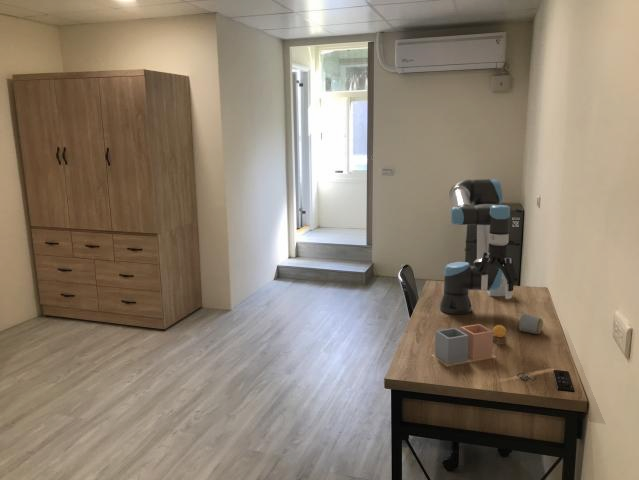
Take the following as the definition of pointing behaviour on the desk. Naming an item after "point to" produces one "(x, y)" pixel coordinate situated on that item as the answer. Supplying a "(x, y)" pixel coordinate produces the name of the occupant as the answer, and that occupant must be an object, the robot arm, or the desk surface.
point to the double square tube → (463, 345)
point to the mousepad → (526, 377)
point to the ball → (499, 331)
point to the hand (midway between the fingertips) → (495, 294)
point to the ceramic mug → (530, 324)
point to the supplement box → (501, 290)
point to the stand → (499, 340)
